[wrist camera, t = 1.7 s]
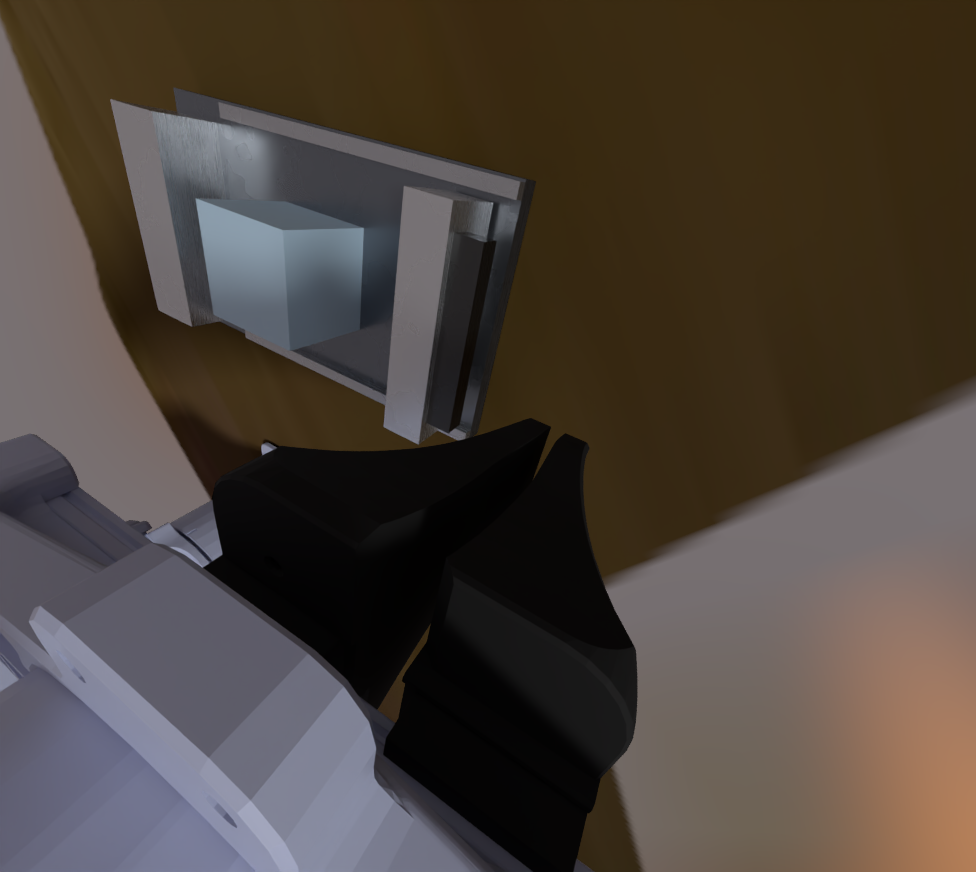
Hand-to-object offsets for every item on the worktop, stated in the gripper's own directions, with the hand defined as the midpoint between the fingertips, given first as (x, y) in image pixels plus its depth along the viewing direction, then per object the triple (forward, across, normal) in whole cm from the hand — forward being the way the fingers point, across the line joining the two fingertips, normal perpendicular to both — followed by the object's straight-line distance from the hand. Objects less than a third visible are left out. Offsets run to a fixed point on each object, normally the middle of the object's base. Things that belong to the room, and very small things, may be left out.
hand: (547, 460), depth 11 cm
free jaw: (+7, +7, 0) cm, 10 cm away
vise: (+8, +16, 0) cm, 18 cm away
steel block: (+7, +16, 0) cm, 17 cm away
